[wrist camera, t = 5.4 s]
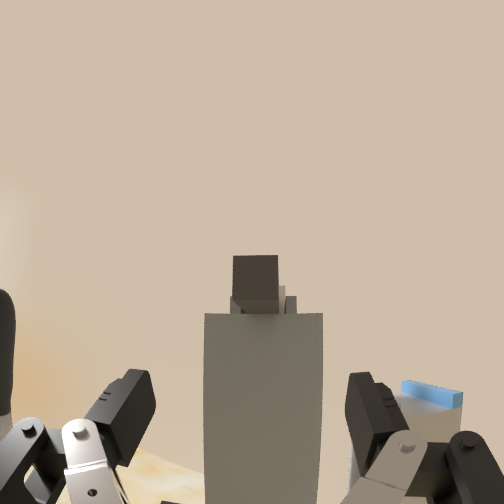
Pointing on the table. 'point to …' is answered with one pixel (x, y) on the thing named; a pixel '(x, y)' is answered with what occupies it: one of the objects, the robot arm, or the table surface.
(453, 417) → the bezel riser
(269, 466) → the tower
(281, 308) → the dark grey bar
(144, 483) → the table surface
